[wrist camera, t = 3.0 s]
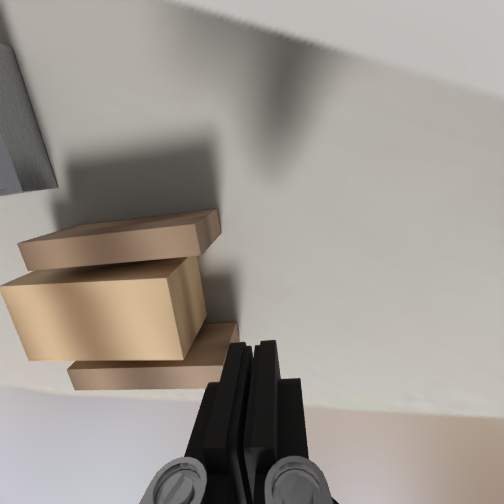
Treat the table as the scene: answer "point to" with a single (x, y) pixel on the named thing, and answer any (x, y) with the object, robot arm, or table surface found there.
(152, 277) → the cardboard-coloured box
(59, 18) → the table surface
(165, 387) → the wooden blocks
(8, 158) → the grey shallow tray
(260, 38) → the table surface
